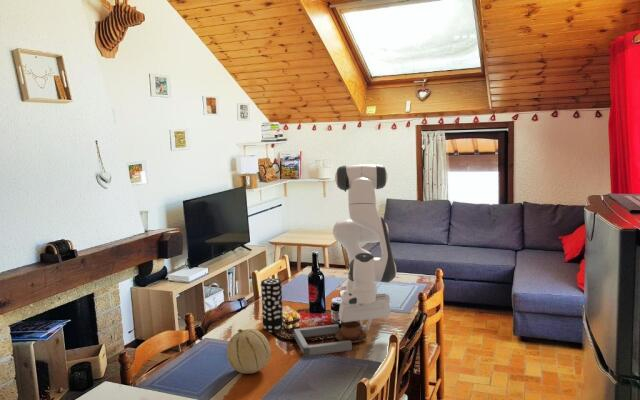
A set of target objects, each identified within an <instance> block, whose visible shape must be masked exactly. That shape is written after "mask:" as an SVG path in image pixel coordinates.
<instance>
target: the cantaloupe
mask: <svg viewBox="0 0 640 400" xmlns="http://www.w3.org/2000/svg"><path fill="white" fill-rule="evenodd" d="M271 353H272V351H271V345H270V343H269V340H268V339H267V338H266V336H265V335H264V334H263V333H262V332H261V331H260V330H257V329H254V328H247V329H239V328H238V330H237V332H236V333H235V334H233V335H232V336H231V338H230V339H229V342H228V343H227V347H226V357H227V361H228V363H229V365H230V366H231V367H232V369H234V370H235V371H237V372H238V373H241V374H245V375H246V374H247V375H248V374H255V373H257V372H259V371H261V370H262V369H264V367H266V365H267V364H268V363H269V361H270V358H271V355H272V354H271Z"/></svg>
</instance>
